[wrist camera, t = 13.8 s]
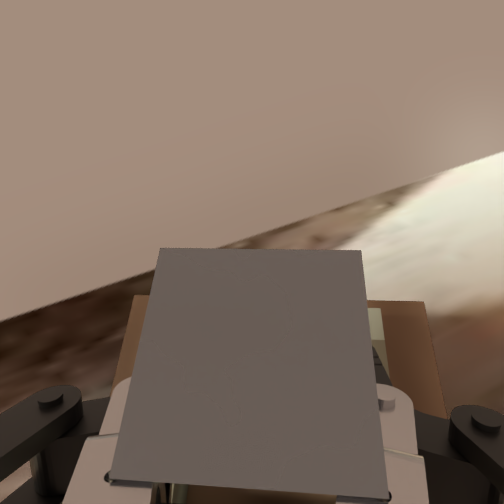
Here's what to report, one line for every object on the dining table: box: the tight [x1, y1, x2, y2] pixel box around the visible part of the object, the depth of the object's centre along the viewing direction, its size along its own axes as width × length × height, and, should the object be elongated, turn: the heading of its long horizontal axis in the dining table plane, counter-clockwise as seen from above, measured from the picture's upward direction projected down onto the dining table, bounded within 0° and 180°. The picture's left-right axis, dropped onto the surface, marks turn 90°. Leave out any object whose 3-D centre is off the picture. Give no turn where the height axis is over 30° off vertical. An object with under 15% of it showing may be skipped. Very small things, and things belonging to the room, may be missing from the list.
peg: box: [109, 248, 389, 499], centre depth 11 cm, size 4×4×11 cm
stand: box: [110, 295, 447, 504], centre depth 18 cm, size 16×13×8 cm
